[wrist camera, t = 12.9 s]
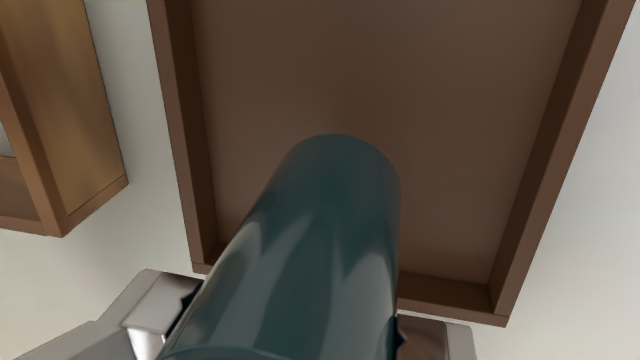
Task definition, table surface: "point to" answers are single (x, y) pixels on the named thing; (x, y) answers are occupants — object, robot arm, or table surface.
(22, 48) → the open square wooden box
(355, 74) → the tray
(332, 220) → the salt shaker
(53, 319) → the table surface
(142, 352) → the robot arm
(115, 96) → the table surface
